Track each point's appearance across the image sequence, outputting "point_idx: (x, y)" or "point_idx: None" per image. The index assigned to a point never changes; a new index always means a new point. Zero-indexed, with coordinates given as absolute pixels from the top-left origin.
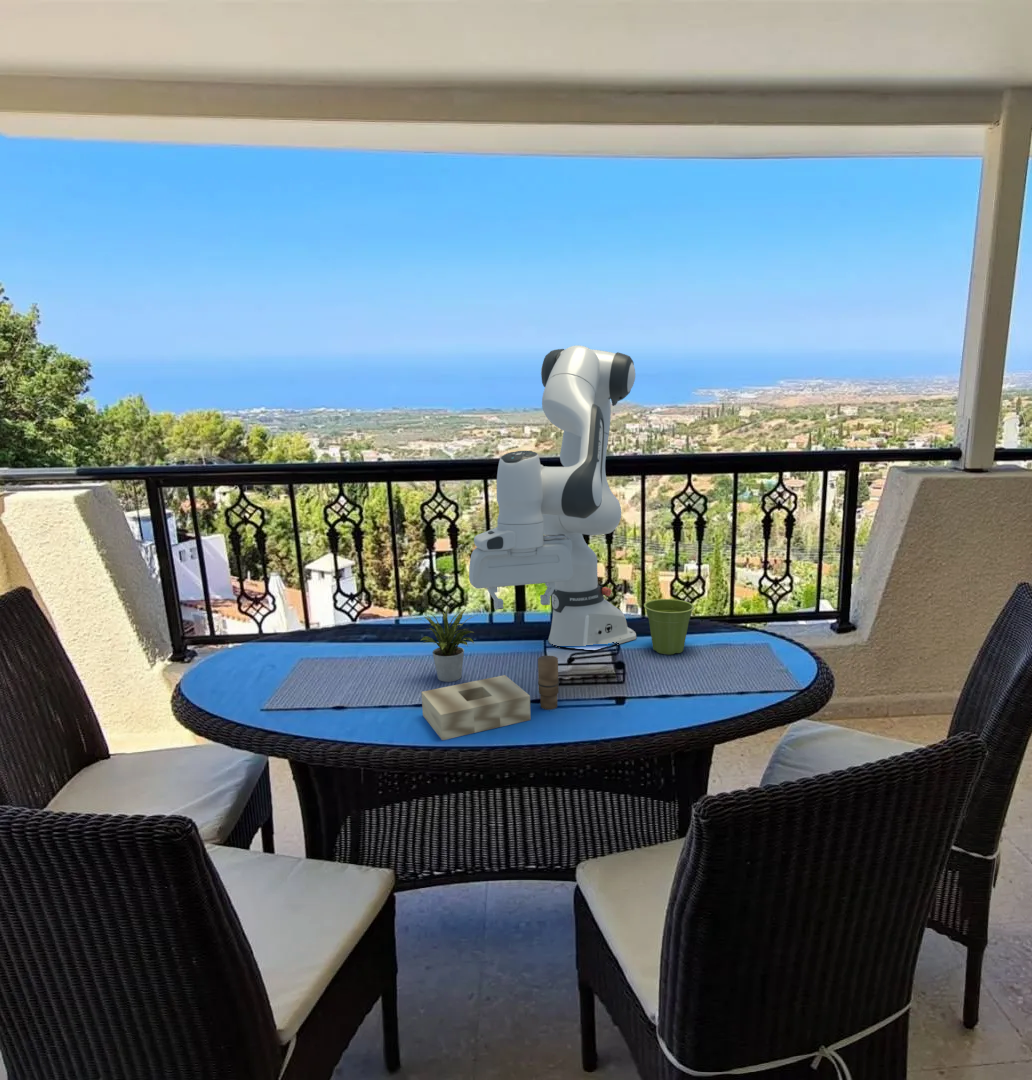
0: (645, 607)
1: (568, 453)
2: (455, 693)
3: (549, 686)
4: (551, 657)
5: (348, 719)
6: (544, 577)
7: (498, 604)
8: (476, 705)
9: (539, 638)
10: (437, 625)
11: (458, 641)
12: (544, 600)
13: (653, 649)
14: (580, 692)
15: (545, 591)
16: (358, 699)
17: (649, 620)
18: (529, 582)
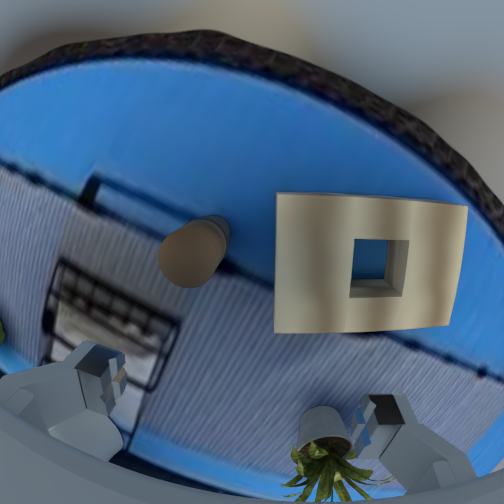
0: None
1: None
2: (409, 290)
3: (210, 219)
4: (171, 266)
5: (493, 335)
6: (7, 453)
7: (399, 409)
8: (403, 208)
9: (132, 456)
10: (370, 484)
11: (308, 464)
12: (102, 361)
13: (4, 334)
14: (133, 260)
15: (71, 417)
16: (456, 389)
17: None
18: (160, 492)
